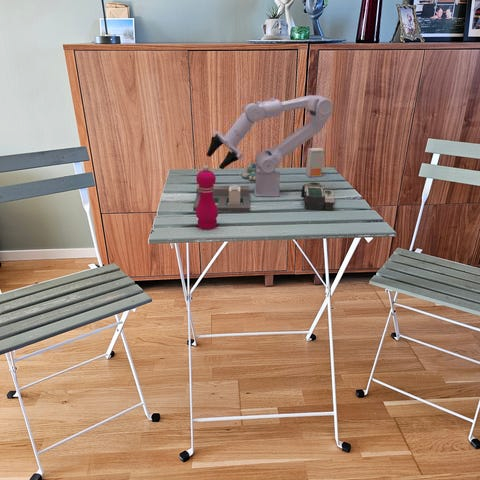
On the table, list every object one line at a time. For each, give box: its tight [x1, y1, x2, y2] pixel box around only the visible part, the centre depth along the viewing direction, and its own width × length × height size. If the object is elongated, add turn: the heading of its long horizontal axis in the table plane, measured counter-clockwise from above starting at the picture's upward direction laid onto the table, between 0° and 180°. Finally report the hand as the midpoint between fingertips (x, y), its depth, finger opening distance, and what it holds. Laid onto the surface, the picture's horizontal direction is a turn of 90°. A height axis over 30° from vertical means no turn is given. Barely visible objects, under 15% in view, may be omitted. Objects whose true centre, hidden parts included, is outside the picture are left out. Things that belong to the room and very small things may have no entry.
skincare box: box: [305, 147, 325, 178], centre depth 178 cm, size 6×4×12 cm
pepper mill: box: [195, 164, 219, 230], centre depth 127 cm, size 7×7×20 cm
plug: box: [228, 184, 241, 205], centre depth 146 cm, size 4×5×7 cm
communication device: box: [300, 181, 335, 211], centre depth 153 cm, size 12×24×9 cm, turn 172°
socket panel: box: [192, 184, 251, 213], centre depth 148 cm, size 20×16×4 cm
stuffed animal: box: [241, 162, 258, 181], centre depth 176 cm, size 11×7×12 cm
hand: (214, 162), depth 150 cm, fingers open, 7 cm apart
